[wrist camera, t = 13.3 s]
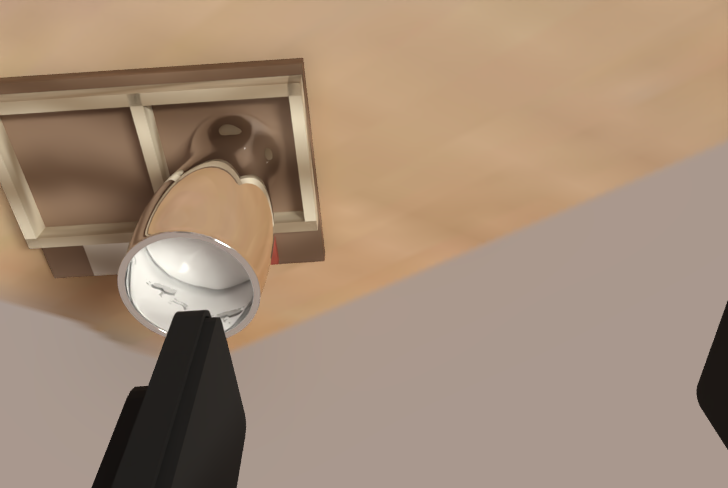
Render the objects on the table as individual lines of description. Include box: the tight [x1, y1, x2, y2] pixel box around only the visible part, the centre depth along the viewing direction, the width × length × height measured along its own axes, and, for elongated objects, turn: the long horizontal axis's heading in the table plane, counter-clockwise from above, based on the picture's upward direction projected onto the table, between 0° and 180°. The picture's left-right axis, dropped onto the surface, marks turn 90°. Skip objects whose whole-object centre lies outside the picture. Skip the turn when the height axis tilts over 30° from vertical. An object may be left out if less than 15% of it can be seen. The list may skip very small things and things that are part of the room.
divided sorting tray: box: [0, 58, 325, 278], centre depth 41 cm, size 15×21×3 cm
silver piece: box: [117, 112, 282, 338], centre depth 34 cm, size 7×7×15 cm
